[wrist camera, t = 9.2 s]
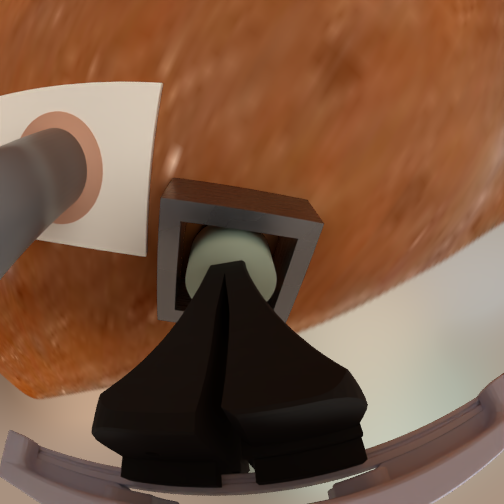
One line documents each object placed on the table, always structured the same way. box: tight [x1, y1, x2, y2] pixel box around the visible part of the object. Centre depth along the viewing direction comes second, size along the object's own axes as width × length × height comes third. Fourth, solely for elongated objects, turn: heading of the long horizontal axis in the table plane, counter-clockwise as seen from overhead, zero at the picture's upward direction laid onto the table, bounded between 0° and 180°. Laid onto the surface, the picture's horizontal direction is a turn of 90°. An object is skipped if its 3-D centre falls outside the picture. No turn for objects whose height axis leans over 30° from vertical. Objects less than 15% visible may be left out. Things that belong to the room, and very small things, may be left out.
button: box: [185, 225, 277, 302], centre depth 12 cm, size 4×4×2 cm
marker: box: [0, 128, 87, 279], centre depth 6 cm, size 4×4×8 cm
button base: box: [157, 178, 324, 323], centre depth 12 cm, size 6×6×2 cm
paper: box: [0, 82, 163, 257], centre depth 10 cm, size 10×8×1 cm
